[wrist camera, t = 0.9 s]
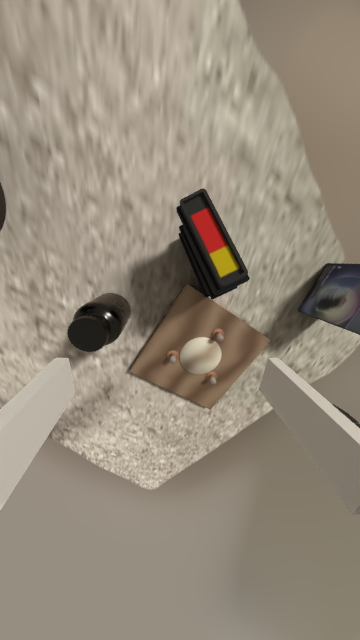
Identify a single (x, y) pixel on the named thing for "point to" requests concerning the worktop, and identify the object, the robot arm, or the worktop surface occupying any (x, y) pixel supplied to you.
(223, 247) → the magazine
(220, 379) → the board
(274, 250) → the worktop surface
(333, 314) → the small box
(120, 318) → the supplement bottle
